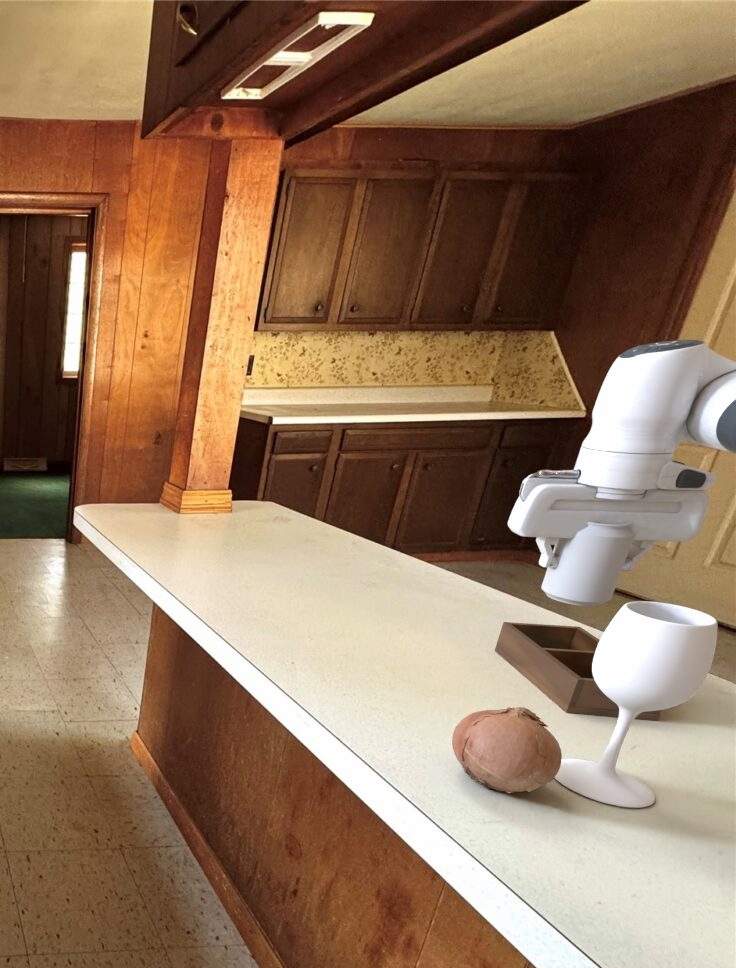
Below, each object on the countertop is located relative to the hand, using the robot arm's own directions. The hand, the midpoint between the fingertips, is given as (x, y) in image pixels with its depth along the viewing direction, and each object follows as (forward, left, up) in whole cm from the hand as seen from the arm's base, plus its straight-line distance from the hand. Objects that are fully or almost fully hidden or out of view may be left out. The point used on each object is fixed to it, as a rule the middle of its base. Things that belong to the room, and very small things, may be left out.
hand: (584, 568), depth 93 cm
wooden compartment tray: (0, +5, -16) cm, 17 cm away
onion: (+21, +33, -16) cm, 42 cm away
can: (0, 0, -5) cm, 5 cm away
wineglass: (+10, +31, -16) cm, 36 cm away
